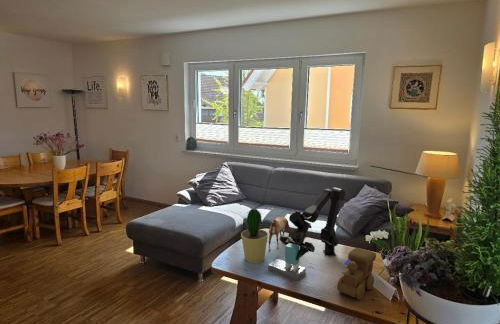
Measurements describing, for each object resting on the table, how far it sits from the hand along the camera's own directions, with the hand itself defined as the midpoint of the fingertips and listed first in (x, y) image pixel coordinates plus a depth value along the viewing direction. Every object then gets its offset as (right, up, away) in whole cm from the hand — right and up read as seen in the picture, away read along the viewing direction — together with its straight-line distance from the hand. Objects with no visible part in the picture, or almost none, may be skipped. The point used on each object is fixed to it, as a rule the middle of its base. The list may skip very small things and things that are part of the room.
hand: (290, 258), depth 161 cm
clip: (+1, -6, +2) cm, 7 cm away
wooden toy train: (+29, -11, -13) cm, 34 cm away
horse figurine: (0, -3, +36) cm, 36 cm away
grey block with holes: (-2, -8, +4) cm, 10 cm away
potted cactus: (-18, -6, +20) cm, 28 cm away
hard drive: (+37, -7, +13) cm, 40 cm away
